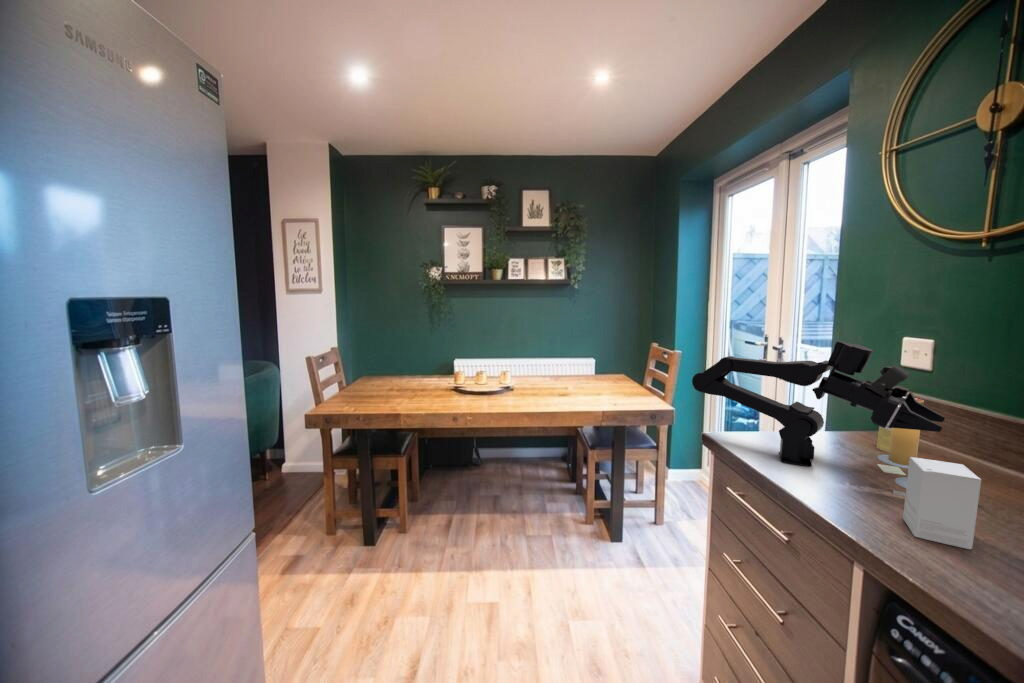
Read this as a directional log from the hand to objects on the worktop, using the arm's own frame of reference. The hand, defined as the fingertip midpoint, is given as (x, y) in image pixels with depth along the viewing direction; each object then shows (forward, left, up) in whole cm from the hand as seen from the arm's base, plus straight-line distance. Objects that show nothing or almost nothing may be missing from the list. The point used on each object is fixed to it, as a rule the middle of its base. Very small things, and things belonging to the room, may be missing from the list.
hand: (942, 424), depth 84 cm
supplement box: (-6, -18, -16) cm, 25 cm away
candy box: (+2, +26, -16) cm, 31 cm away
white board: (-1, +9, -16) cm, 19 cm away
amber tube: (0, +16, -15) cm, 22 cm away
